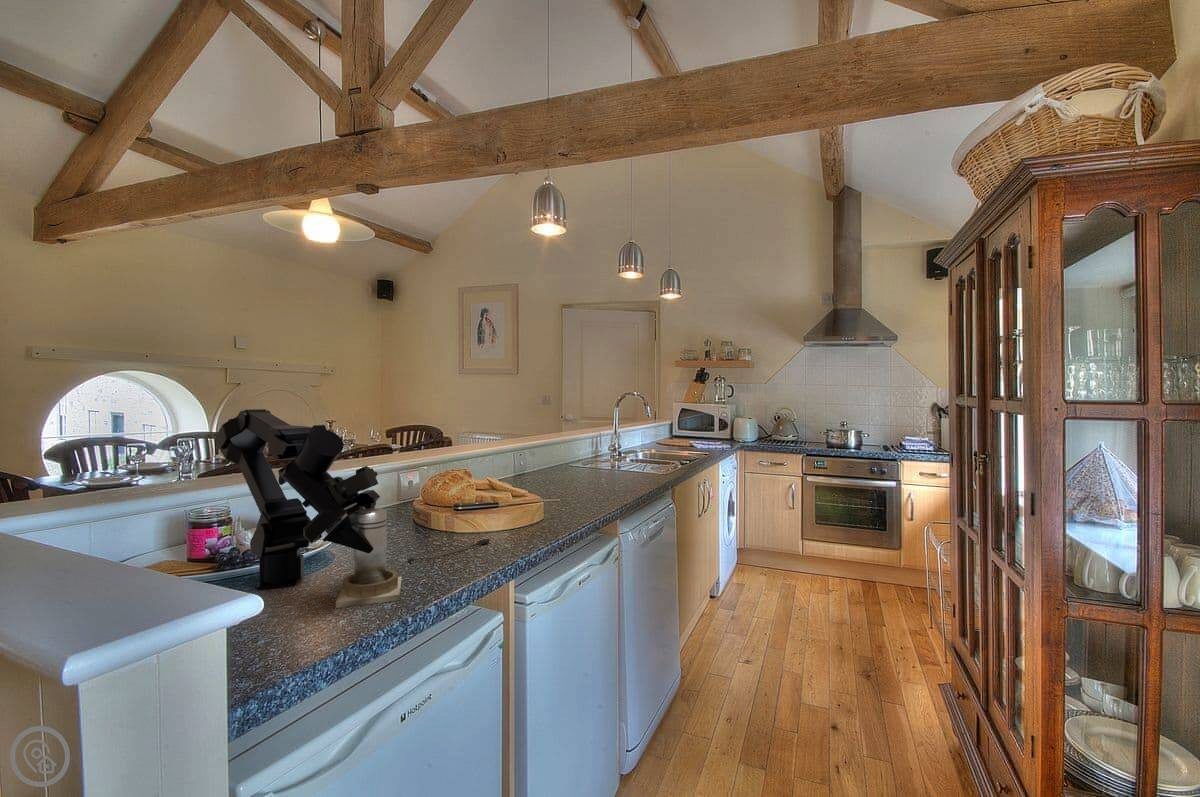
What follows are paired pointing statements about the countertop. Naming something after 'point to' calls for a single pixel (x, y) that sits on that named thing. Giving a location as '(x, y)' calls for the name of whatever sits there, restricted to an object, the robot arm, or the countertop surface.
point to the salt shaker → (375, 531)
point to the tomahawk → (454, 550)
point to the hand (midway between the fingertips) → (378, 546)
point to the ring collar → (369, 591)
